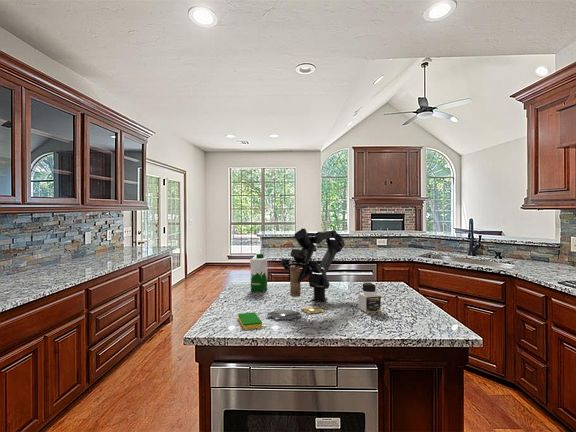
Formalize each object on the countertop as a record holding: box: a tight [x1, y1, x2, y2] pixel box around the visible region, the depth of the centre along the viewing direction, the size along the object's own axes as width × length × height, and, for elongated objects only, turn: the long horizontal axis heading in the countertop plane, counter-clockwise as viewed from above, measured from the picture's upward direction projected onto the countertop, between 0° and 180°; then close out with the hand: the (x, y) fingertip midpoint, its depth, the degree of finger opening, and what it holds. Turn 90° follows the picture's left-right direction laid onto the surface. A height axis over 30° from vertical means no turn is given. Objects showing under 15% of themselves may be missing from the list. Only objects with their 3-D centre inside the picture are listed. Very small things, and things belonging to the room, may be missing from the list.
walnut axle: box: [289, 265, 302, 298], centre depth 148 cm, size 4×4×13 cm
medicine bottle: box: [358, 281, 382, 314], centre depth 148 cm, size 7×7×12 cm
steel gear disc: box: [266, 308, 301, 322], centre depth 141 cm, size 14×14×1 cm
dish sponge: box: [237, 311, 263, 330], centre depth 133 cm, size 7×14×2 cm, turn 17°
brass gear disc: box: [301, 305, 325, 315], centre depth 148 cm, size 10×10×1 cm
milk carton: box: [249, 253, 268, 293], centre depth 188 cm, size 9×9×20 cm
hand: (293, 281), depth 147 cm, fingers closed on walnut axle, 4 cm apart
